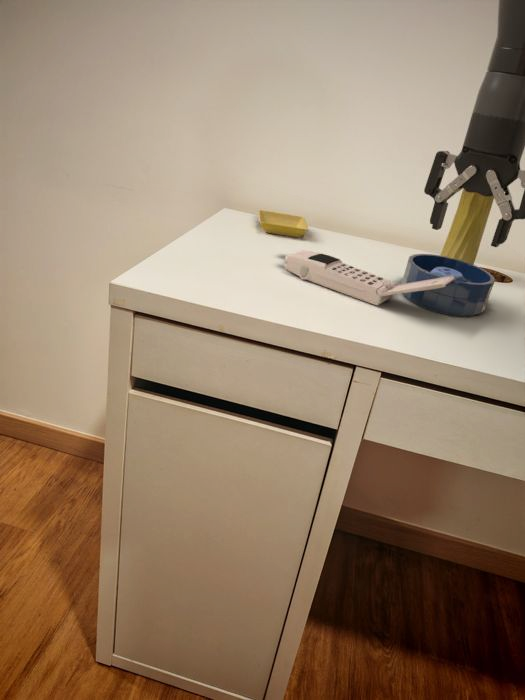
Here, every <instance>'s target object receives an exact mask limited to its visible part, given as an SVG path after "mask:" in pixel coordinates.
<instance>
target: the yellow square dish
mask: <svg viewBox="0 0 525 700" xmlns="http://www.w3.org/2000/svg"><path fill="white" fill-rule="evenodd" d="M258 222H259V224H260V227H261V229H262V230H263V232H265V233H267V234H275V235H279V236H285V237H286V236H287V237H293V238H299V237H302V236H303V235H305V234H306V232H308V230H309V228H308V225H307V222H306V218H305V217H304V216H300V215H294V214H289V213H281V212H275V211H268V210H262V209H259V210H258Z"/></svg>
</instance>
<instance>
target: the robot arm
mask: <svg viewBox="0 0 525 700" xmlns="http://www.w3.org/2000/svg"><path fill="white" fill-rule="evenodd" d="M497 8H498V9H497V30H496V38H495V42H494V43H493V44H494V45H493V48H492V50H491V55H490V58H489V61H488V65H487V68H486V72H485V75H484V78H483V80H482V82H481V84H480V87H479V89H478V93H477V96H476V99H475V103H474V107H473V110H472V113H471V117H470V120H469V123H468V127H467V130H466V134H465V136H464V137H465V138H464V141H463V144H462V148H461V150H460V152H459V154H458V155H456V154H452V153H450V151H449V150H439V151H437V152H436V153H435V155H434V159H433V162H432V165H431V168H430V171H429V174H428V177H427V180H426V183H425V187H424V190H423V192H424V194H425V195H427V196H429V197H431V198H432V199H433V201H434V202H433V203H434V204H433V207H432V211H431V215H430V218H429V224H430V225H431V229H432V230H434V231H438V230H441V229H442V228H443V223H444V220H445V217H446V213H447V210H448V206H449V202H448V200H450V199H451V198H452V197H454V195H456V194H457V193H459V192H460V191H461V190H462V191H463V188H464V189H465V190H466V192H470V193H479V194H481V195H482V196H486V197H489V196H494V201H495V204H496V205H497V207H498V209H499V212H500V214H501V218H500V219H498V221H497V225H496V228H495V231H494V234H493V237H492V240H491V244H490V246H491V247H493V248H498V247H499V246H500V245H502V244H505V242H506V241H507V240H508V237H509V233H510V231H511V228H512V225H513V222H514V221H515V220H525V169H521V160H522V156H523V154H524V150H525V0H498V5H497ZM453 164H454V168H455V171H456V174H457V177H455V178H454V179H453V180H452V181H450V182H449V183H448V184H447V185H446V186H445V187H444V188H442V189H441V188H440V187H441V184H442V181H443V178H444V175H445V172H446V170H448V169H450V168H451V167H452V165H453ZM517 179H519V180H520V186H521V188H523V194H522V197H521V201H520V204H519V208H515V207H516V206H515V205H514V203H513V196H512V193H511V191H510V188H509V186H510V185H511V184H512V183H514V182H515V181H516V180H517Z"/></svg>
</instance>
